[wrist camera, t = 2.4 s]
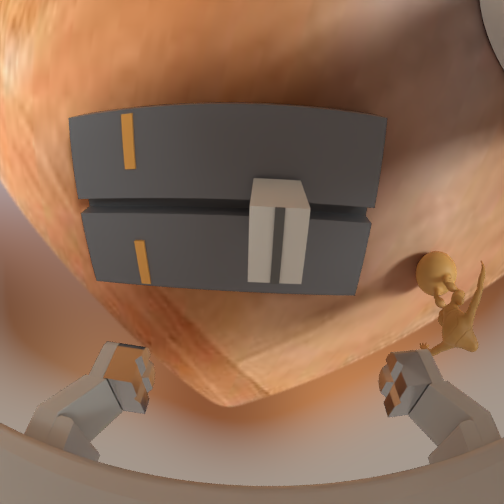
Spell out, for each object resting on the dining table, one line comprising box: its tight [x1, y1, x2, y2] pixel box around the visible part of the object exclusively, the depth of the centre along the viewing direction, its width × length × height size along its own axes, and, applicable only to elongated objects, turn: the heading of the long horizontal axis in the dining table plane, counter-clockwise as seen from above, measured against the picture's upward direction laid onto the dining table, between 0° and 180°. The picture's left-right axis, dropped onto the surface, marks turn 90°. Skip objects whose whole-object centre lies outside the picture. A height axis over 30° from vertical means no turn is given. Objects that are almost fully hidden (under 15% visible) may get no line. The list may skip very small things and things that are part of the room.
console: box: [69, 102, 387, 295], centre depth 22 cm, size 22×14×3 cm, turn 88°
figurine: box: [416, 251, 485, 356], centre depth 20 cm, size 8×6×12 cm
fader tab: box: [248, 178, 310, 284], centre depth 19 cm, size 3×4×7 cm, turn 178°
